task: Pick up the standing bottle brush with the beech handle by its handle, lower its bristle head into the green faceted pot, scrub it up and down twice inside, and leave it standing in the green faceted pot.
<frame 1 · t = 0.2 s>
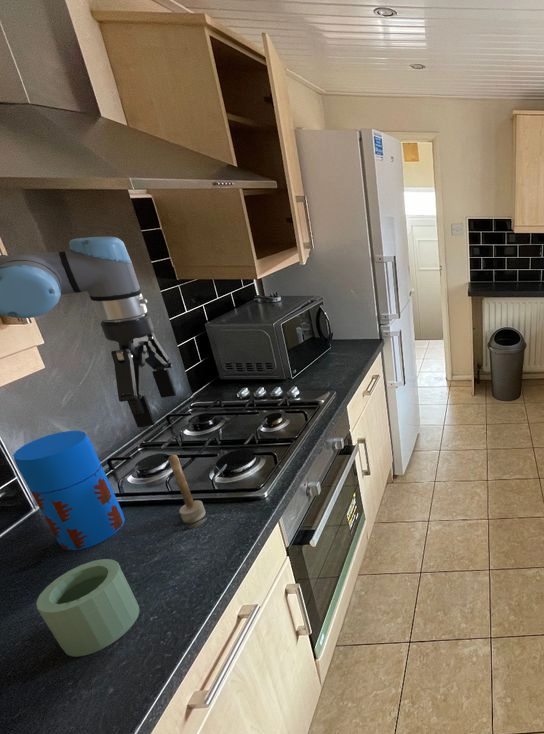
hand: (158, 409, 91), 29 cm above the worktop, tool pointing down, fingers open, 13 cm apart
thermos: (96, 537, 95), on the worktop
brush: (196, 521, 99), on the worktop
green faceted pot: (103, 627, 75), on the worktop
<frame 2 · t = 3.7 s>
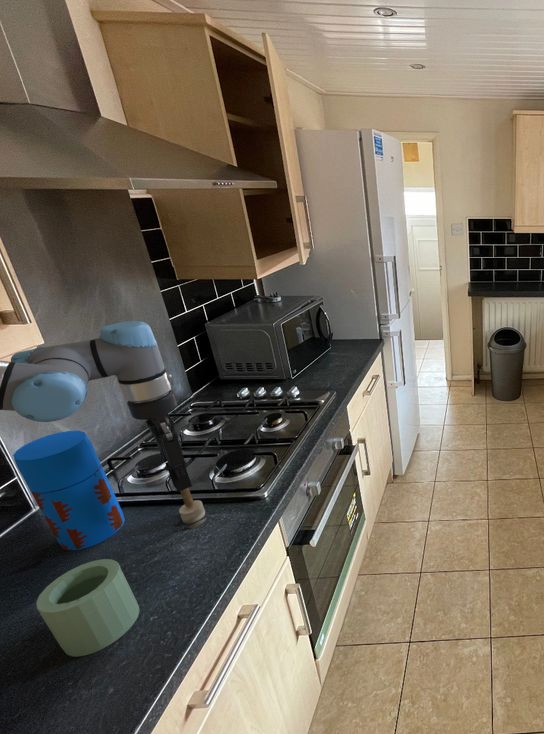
hand: (183, 486, 95), 10 cm above the worktop, tool pointing down, fingers closed on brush, 2 cm apart
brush: (195, 521, 99), on the worktop, touching gripper
everything else where it was.
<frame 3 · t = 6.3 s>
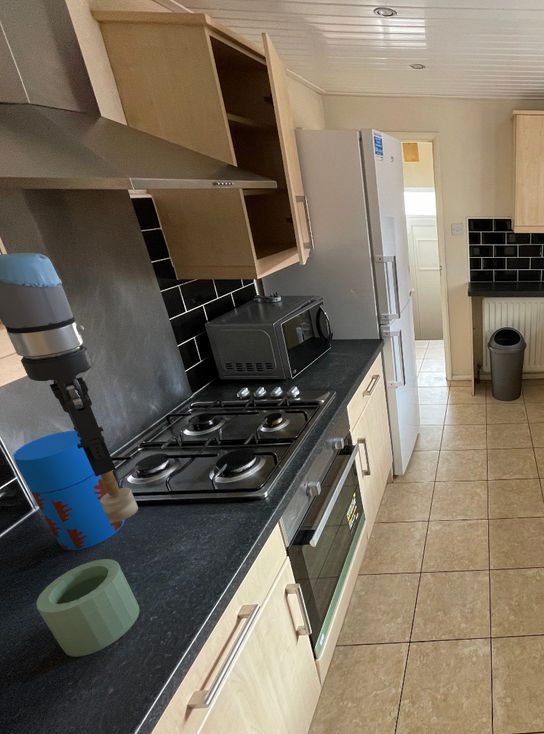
hand: (104, 469, 76), 26 cm above the worktop, tool pointing down, fingers closed on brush, 2 cm apart
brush: (123, 513, 80), point 16 cm above the worktop, touching gripper
everything else where it was.
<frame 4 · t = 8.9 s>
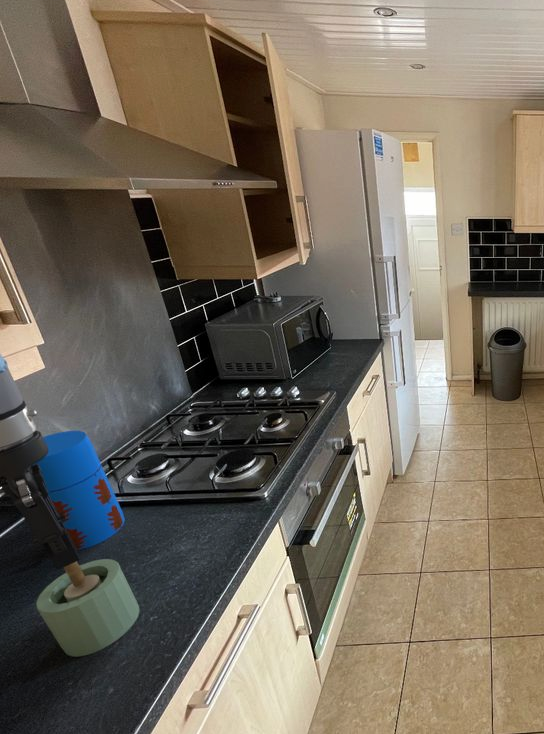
hand: (67, 559, 69), 17 cm above the worktop, tool pointing down, fingers closed on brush, 2 cm apart
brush: (91, 603, 73), point 6 cm above the worktop, touching gripper
everything else where it was.
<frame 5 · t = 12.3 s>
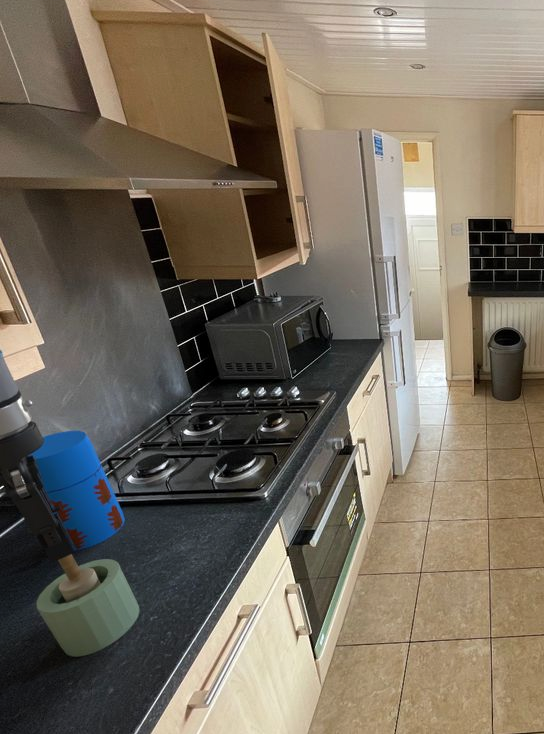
hand: (62, 552, 68), 18 cm above the worktop, tool pointing down, fingers closed on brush, 2 cm apart
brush: (86, 596, 72), point 8 cm above the worktop, touching gripper
everything else where it was.
when the fingers open (11 cm above the worktop, at t = 14.4 s): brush stays where it is, resting on green faceted pot.
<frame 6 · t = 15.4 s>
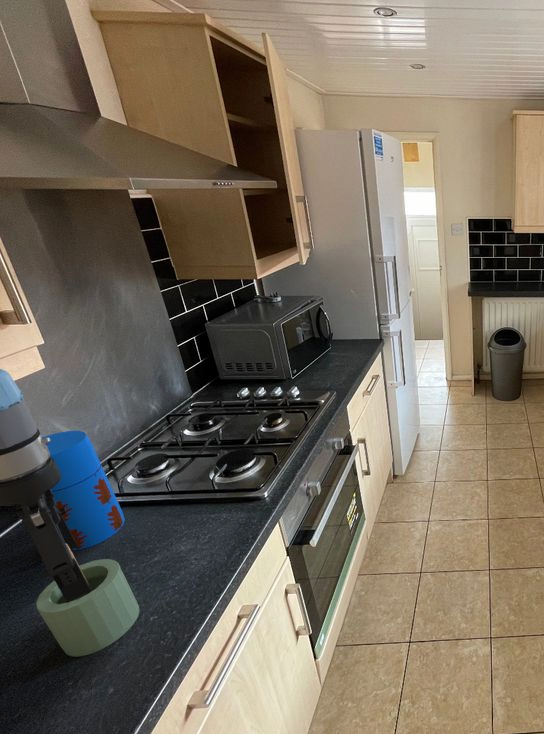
hand: (72, 571, 70), 14 cm above the worktop, tool pointing down, fingers open, 13 cm apart
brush: (101, 623, 75), point 1 cm above the worktop, touching green faceted pot
everything else where it was.
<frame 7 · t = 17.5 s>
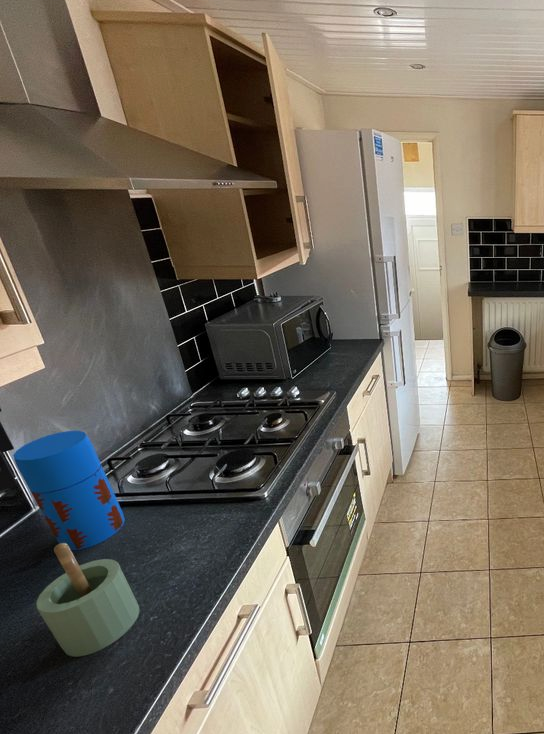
hand: (2, 469, 65), 33 cm above the worktop, tool pointing down, fingers open, 13 cm apart
nothing on the worktop moved.
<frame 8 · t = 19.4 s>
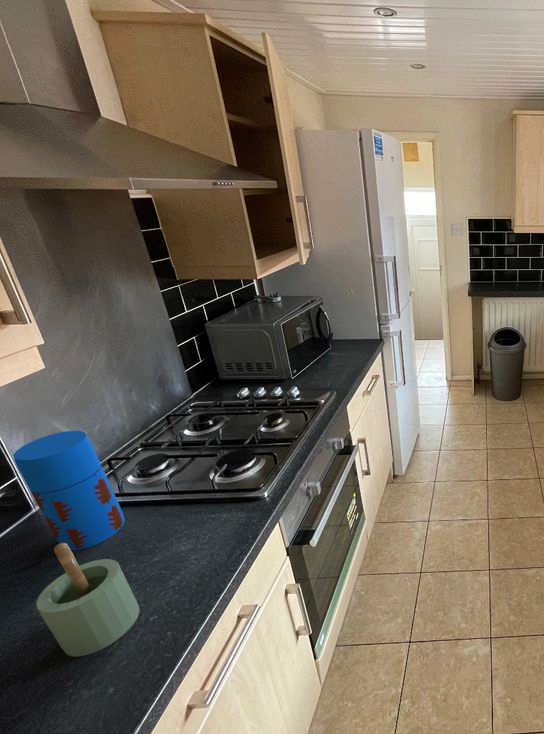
nothing on the worktop moved.
at the end: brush 0.1 cm off-centre in the green faceted pot, point 1.0 cm above the green faceted pot's base; the gripper is holding nothing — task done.
